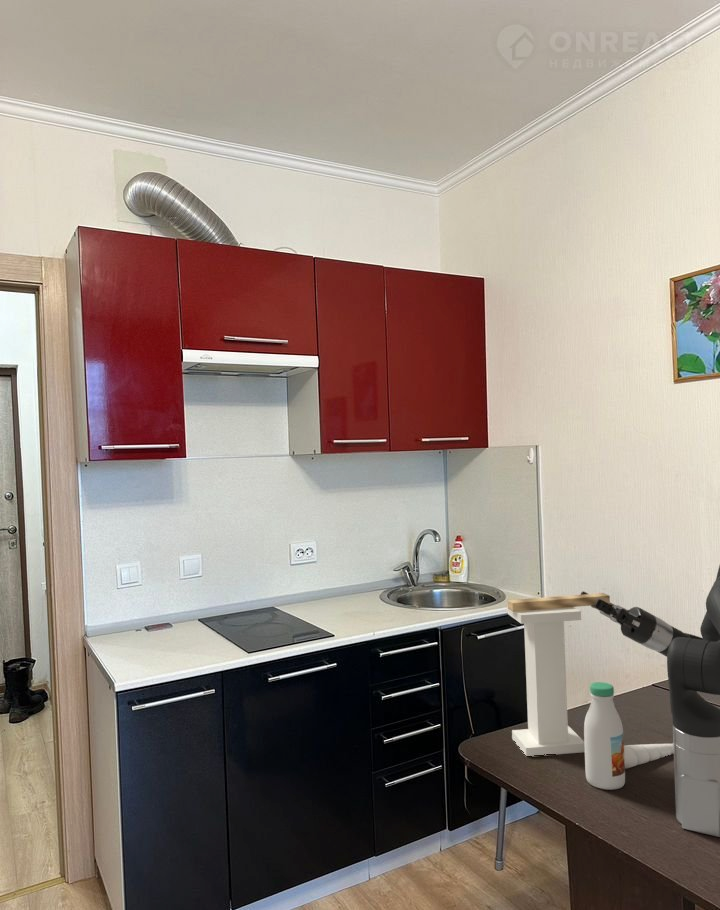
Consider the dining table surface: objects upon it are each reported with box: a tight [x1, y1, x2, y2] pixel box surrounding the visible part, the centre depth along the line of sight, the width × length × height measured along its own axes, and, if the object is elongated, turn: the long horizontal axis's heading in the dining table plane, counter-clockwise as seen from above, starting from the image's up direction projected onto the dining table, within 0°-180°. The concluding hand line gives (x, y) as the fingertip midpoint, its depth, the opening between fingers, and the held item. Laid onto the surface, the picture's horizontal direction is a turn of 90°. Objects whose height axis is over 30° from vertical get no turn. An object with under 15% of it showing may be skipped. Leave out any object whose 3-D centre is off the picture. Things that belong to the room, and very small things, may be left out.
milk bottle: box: [583, 681, 626, 791], centre depth 142 cm, size 8×8×20 cm
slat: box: [507, 592, 611, 612], centre depth 161 cm, size 24×3×2 cm, turn 99°
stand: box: [506, 604, 585, 757], centre depth 160 cm, size 14×10×32 cm
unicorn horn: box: [624, 743, 674, 770], centre depth 151 cm, size 5×24×5 cm, turn 110°
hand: (588, 598), depth 161 cm, fingers open, 8 cm apart
